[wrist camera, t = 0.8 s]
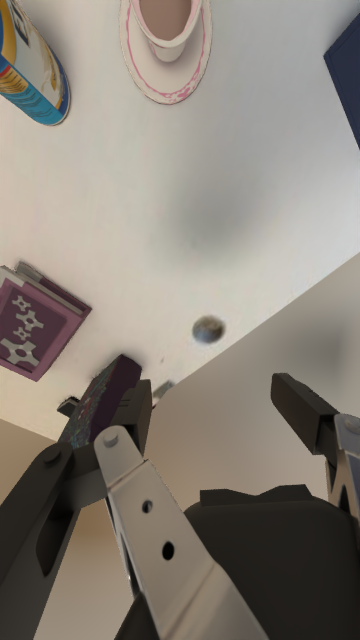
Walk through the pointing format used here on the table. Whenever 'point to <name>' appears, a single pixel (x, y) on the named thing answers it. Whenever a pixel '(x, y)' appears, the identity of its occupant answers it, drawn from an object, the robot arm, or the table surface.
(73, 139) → the table surface
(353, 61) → the case
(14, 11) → the beverage bottle
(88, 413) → the decorative box
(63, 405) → the external hard drive
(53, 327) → the book
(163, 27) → the teacup
